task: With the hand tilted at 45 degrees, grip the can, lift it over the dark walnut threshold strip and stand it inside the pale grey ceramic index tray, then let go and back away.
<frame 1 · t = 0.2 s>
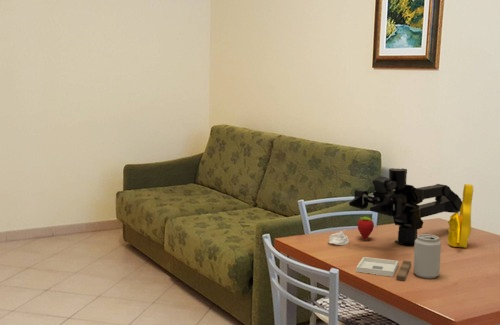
hand: (359, 206, 190), 17 cm above the table, fingers open, 9 cm apart
threshold strip: (403, 272, 176), on the table
whipped cream: (337, 244, 207), on the table
can: (426, 275, 174), on the table
index tray: (377, 268, 179), on the table
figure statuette: (458, 246, 204), on the table
strawberry: (365, 239, 212), on the table
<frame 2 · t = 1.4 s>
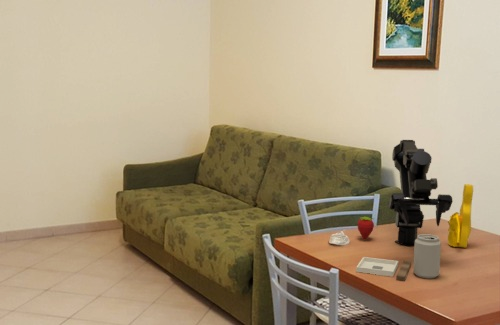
hand: (423, 225, 179), 13 cm above the table, fingers open, 9 cm apart
nothing on the table moved.
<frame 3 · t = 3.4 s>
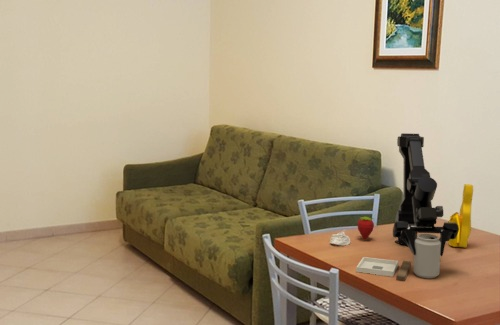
hand: (428, 255, 171), 7 cm above the table, fingers closed on can, 7 cm apart
can: (426, 275, 174), on the table, touching gripper
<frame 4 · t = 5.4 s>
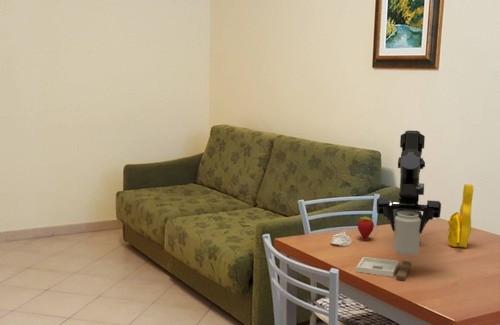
hand: (407, 231, 172), 13 cm above the table, fingers closed on can, 7 cm apart
can: (406, 252, 174), point 6 cm above the table, touching gripper
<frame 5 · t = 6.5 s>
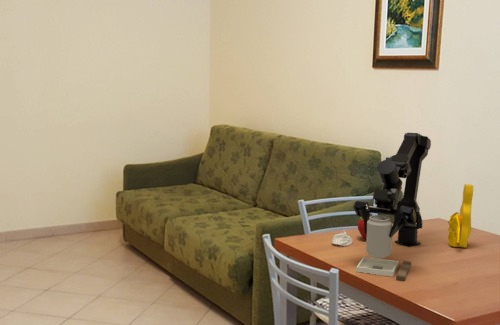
hand: (377, 235, 176), 11 cm above the table, fingers closed on can, 7 cm apart
can: (378, 255, 178), point 4 cm above the table, touching gripper
when the fingers open (8 cm above the table, at t = 7.5 s): can drops 1 cm, resting on index tray.
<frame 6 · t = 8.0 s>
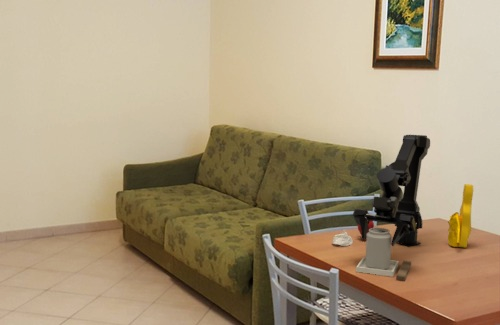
hand: (377, 243, 176), 9 cm above the table, fingers open, 9 cm apart
can: (377, 268, 179), resting on index tray
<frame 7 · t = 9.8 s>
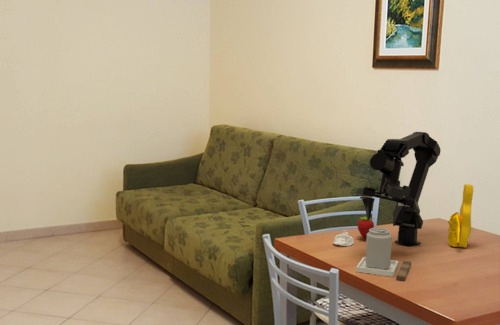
hand: (381, 222, 190), 11 cm above the table, fingers open, 9 cm apart
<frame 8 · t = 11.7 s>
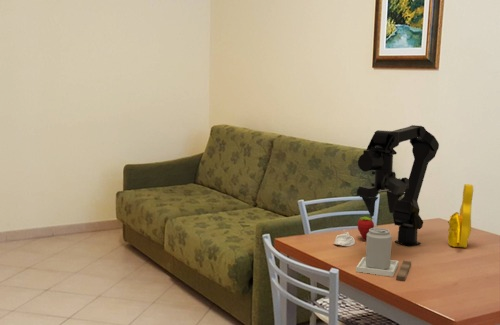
hand: (381, 214, 195), 13 cm above the table, fingers open, 9 cm apart
at the end: can 0.2 cm from the index tray (horizontally); can tilted 0°; can resting on index tray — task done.
